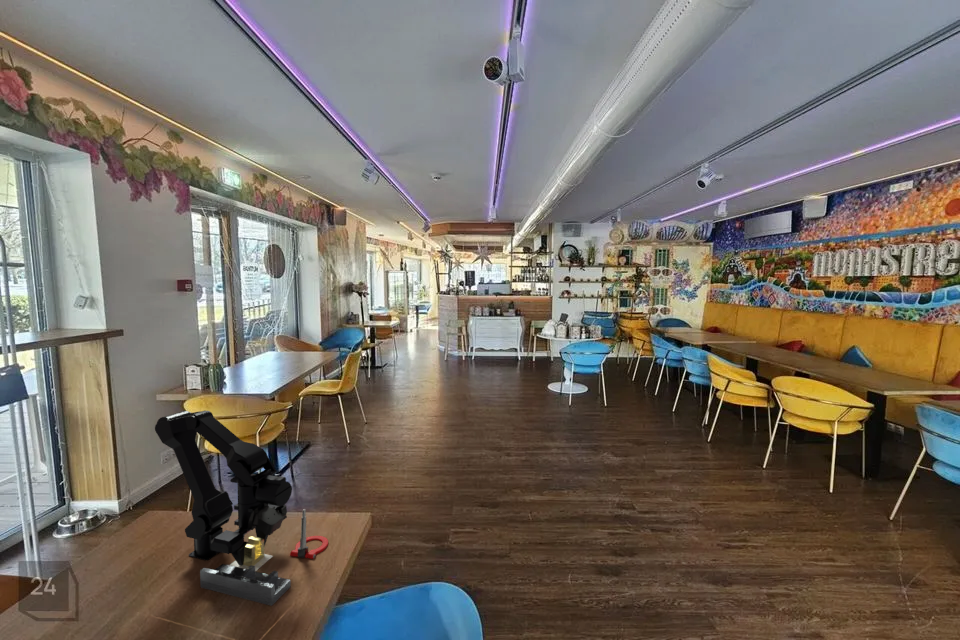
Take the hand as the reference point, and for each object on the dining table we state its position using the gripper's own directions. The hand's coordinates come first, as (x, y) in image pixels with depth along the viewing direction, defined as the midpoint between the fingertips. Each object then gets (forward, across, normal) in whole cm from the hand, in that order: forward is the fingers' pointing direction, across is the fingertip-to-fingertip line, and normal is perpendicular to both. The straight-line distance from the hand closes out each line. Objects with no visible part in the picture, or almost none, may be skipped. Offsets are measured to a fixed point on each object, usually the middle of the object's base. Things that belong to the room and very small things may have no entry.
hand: (251, 556), depth 104 cm
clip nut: (+1, 0, 0) cm, 1 cm away
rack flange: (+1, -8, -6) cm, 10 cm away
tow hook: (+2, +9, -11) cm, 14 cm away
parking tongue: (+1, 0, 0) cm, 1 cm away
